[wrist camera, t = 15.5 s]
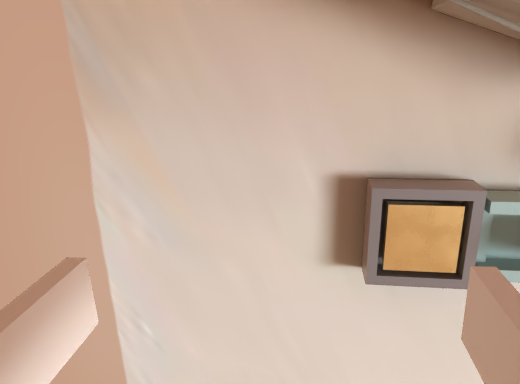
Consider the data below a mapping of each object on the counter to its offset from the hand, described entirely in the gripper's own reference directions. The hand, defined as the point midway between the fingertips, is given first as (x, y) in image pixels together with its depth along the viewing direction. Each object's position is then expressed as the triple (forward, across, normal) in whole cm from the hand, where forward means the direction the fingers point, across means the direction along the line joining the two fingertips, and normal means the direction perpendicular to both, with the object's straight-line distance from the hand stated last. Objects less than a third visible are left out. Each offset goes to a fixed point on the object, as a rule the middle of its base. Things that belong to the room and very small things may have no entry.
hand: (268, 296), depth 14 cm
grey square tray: (+28, +12, -9) cm, 32 cm away
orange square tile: (+26, +12, -9) cm, 30 cm away
